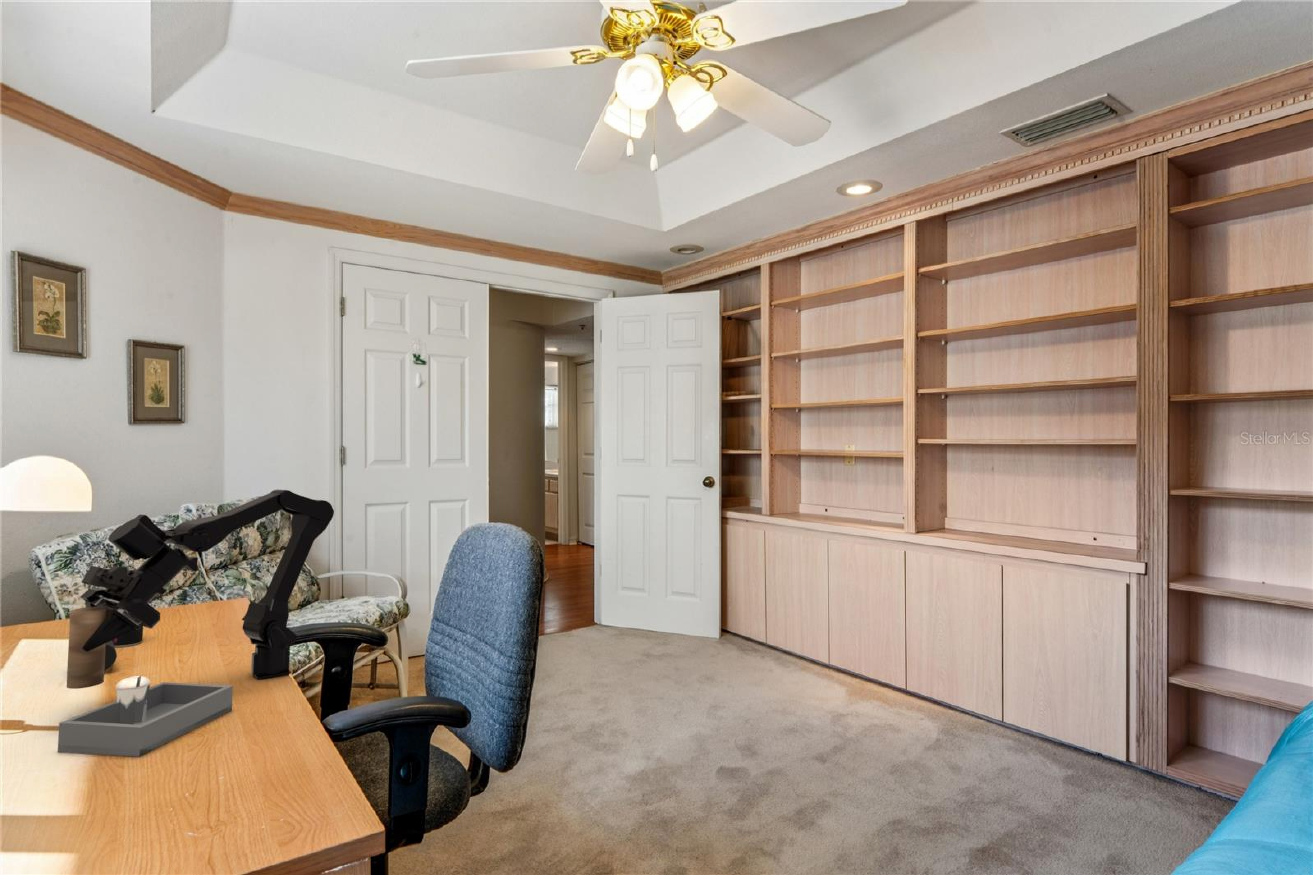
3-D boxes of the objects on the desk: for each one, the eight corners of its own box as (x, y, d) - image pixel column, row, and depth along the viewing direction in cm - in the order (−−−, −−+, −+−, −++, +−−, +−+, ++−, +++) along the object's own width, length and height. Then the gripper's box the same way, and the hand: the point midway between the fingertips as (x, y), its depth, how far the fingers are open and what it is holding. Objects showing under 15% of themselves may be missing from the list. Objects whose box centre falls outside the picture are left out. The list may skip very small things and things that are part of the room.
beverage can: (104, 645, 165) (107, 584, 166) (135, 639, 171) (138, 580, 172) (115, 649, 162) (118, 587, 163) (147, 643, 168) (150, 583, 168)
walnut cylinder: (103, 677, 121) (107, 605, 121) (103, 684, 117) (107, 610, 118) (67, 683, 118) (70, 608, 118) (66, 690, 114) (69, 614, 114)
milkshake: (119, 742, 107) (122, 679, 107) (110, 733, 110) (113, 672, 111) (153, 734, 111) (156, 673, 111) (143, 725, 114) (146, 666, 114)
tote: (162, 706, 125) (163, 682, 126) (231, 710, 124) (232, 685, 124) (57, 751, 106) (59, 722, 106) (139, 756, 104) (140, 727, 104)
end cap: (116, 673, 144) (117, 641, 145) (72, 680, 140) (74, 647, 140) (112, 662, 152) (114, 632, 152) (71, 668, 147) (73, 637, 147)
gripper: (96, 544, 127) (15, 614, 117) (143, 552, 117) (59, 629, 107) (142, 580, 133) (70, 649, 123) (190, 591, 124) (116, 666, 114)
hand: (77, 647), depth 117 cm, fingers closed on walnut cylinder, 5 cm apart
